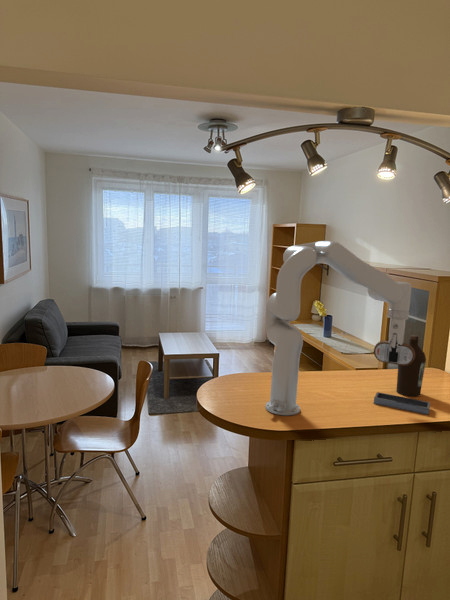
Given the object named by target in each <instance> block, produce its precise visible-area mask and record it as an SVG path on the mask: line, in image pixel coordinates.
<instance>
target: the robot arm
mask: <svg viewBox="0 0 450 600" xmlns="http://www.w3.org/2000/svg"><path fill="white" fill-rule="evenodd" d="M282 256H283V257H282V259H283V261H282V262H283V264H282V265H281V267H280V268H279V271H278V274H277V276H276V287H275V292H274V293H272V294H271V295H269V297H268V299H267V301H266V305H265V333H266V337H267V339H268V341H269V342H271V344H273V345H274V346H275V349H274V352H273V353H274V354H273V358H272V364H271V382H270V383H271V384H270V397H269V401H267V402H266V403H265V409H266V411H268V412H270V413H271V414H275V415H278V416H295V415H297V414H299V413H300V411H301V407H300V405H298V403H297V398H298V397H297V395H298V381H299V369H300V368H299V367H300V359H301V358H300V357H301V353H302V349H303V345H304V337H303V334H302V332H301V330H299V329H298V328H297V327H296V326H295V325H292V324H291V322H294V321H295V320H297V319H298V318H299V316H300V315H301V314H300V313H301V288H302V280H303V278H304V276H305V275H306V274H307V272H308V271H310V270H311V269H312V268H314V266H315V265H320V264H325V265H328V266H329V267H330V268H331V269H333V270H335V271H336V272H337V273H339V275H340V276H342V277H344V278H345V279H346V280H348V281H350V282H352V283H354V284H356V285H359V286H362V287H364V288H367V294H368V296H369V297H370V298H371V299H373V300H375V301H380V302H384V303H387V304H388V305H387V315H386V318H387V319H389V327H388V341H389V344H390V343H391V344H390V351H389V360H388V361H390V362H397V361H398V344H400V345H402V344H403V343H404V341H405V333H406V332H405V331H406V330H405V329H406V320H409V316H410V304H411V296H412V295H411V294H412V285H411V283H410V282H407V281H395V280H394V279H393V278H392V277H390V276H389V275H388V274H386V273H384V272H383V271H381V270H379V269H377V268H376V267H374V266H372V265H370V264H369V263H367V262H366V261H363V260H362V259H361V258H360V257H358V256H357V255H356V254H354V253H353V252H352V251H351V250H349V249H347V248H346V247H345V246H344V245H343V244H341V243H340V242H338V241H334V240H319V241H315V242H308V243H307V242H306V243H302V244H295V245H291V246H289V247H287V248H286V249H285V251H284V252H283V255H282ZM396 343H397V344H396ZM396 346H397V347H396Z"/></svg>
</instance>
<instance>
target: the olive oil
mask: <svg viewBox="0 0 450 600" xmlns="http://www.w3.org/2000/svg"><path fill="white" fill-rule="evenodd" d="M419 337H420V336H419V335H416V334H411V335H410V338H409V344H408V345H410V346H411V347H412V348H413V349H414V351H415V358H414V360H413V362H412V363H411V364H409V365H405V366H403V365H397V376H396V377H397V378H396V380H397V381H396V391H395V392H396V393H397V394H400V396H401V395H402V396H403V397H408V398H409V397H410V398H411V397H412V398H416V397H417V398H418V397H420V396H421V392H422V387H423V386H422V385H423V380H424V374H425V368H426V364H427V362H426V361H427V357H426V354H425V352H424V351H423V350H422V349H421V347H420V346H419V341H420V339H419Z"/></svg>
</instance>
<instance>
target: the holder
mask: <svg viewBox="0 0 450 600" xmlns="http://www.w3.org/2000/svg"><path fill="white" fill-rule="evenodd" d="M373 404H374V405H377V406H378V405H379V406H383V407H387V408H392V409H397V410H398V409H399V410H402V411H406V412H412V413H417V414H422V415H427V416H429V413H430V408H431V407H430V406H431V401H425V400H421V399H414V398H411V397H410V398H409V397H406V396H401V395H400V396H399V395H394V394H389V393H385V392H379V391H376V394H375V395H374V398H373Z"/></svg>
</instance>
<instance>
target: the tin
mask: <svg viewBox="0 0 450 600" xmlns="http://www.w3.org/2000/svg"><path fill="white" fill-rule="evenodd" d="M390 344H391V343H390ZM390 344H389V340H381V341H378V342H377V343H375V345H374V348H373V355H374V357H375V358H376V360H378V361H379V362H381V363H385V364H391V365H397V366H398V365H403V366H405V365H409V364H411V363H412V362H413V360H414V358H415V351H414V349H413V348H412V347H411V346H410V345H409V344H408V343H404V342H403V344H402V345H400V344H398V361H397V362H390V361H388V360H389V351H390ZM396 344H397V343H396ZM396 347H397V346H396Z"/></svg>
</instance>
